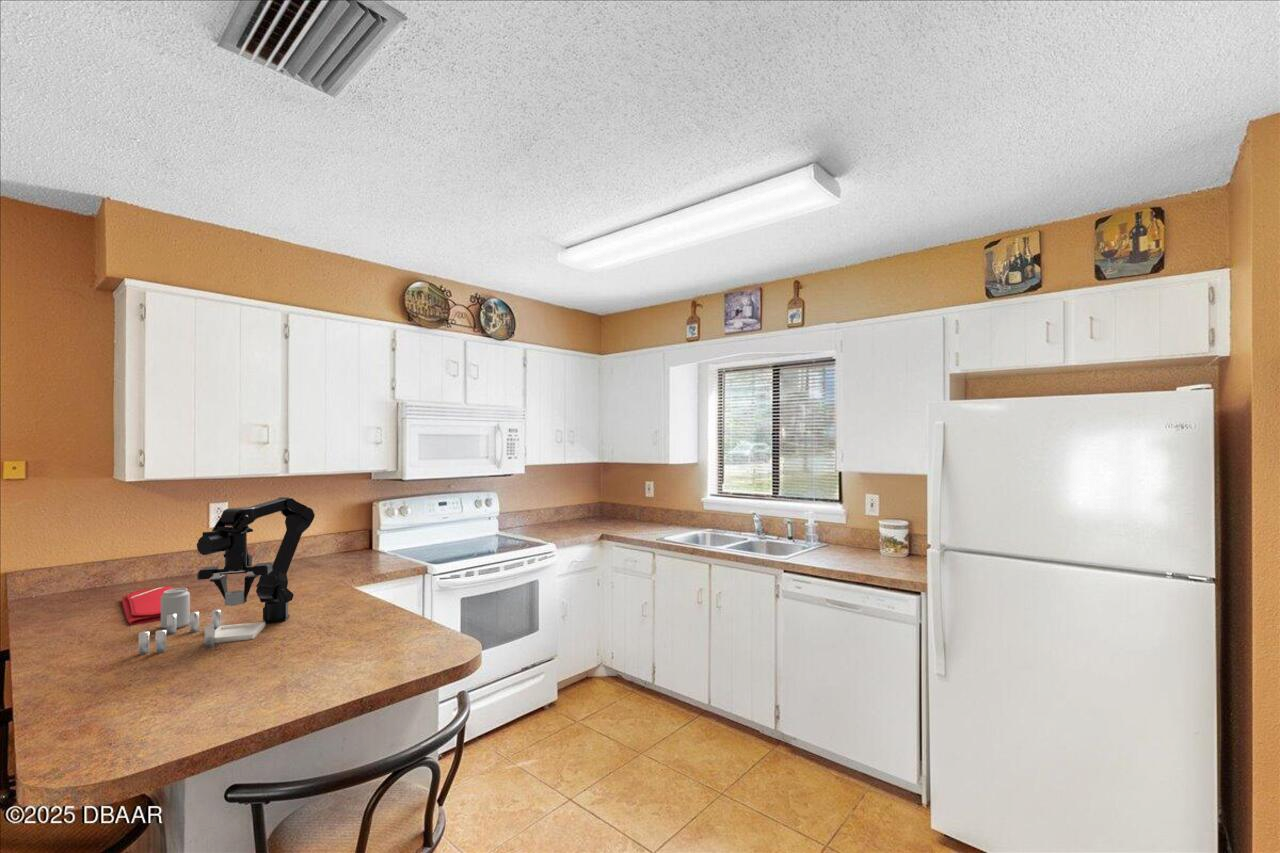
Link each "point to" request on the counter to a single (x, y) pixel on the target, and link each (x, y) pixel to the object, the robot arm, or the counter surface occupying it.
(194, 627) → the spacer posts
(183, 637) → the counter surface
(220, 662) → the counter surface
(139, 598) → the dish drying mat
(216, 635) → the tray
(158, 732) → the counter surface
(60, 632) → the counter surface
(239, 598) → the grey faceted icosahedron
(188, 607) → the can
